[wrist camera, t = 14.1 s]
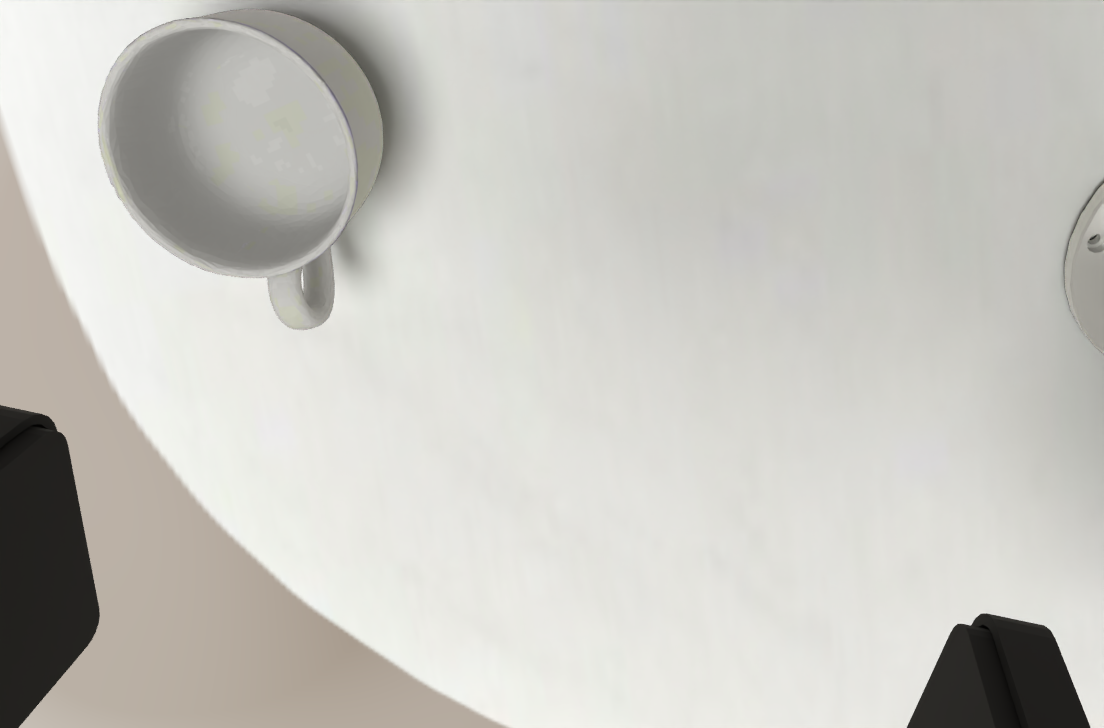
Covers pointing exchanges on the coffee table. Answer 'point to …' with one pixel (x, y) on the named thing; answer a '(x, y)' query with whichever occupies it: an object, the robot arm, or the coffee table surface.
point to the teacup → (244, 148)
